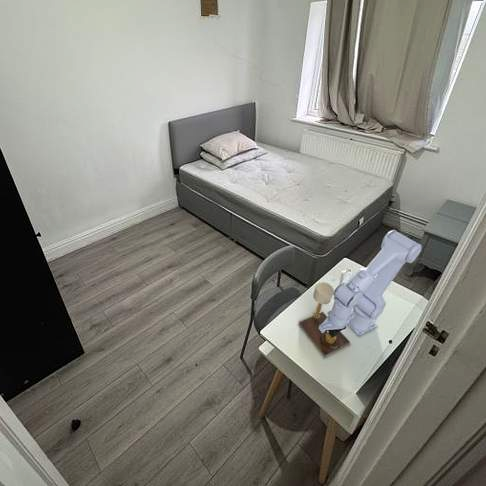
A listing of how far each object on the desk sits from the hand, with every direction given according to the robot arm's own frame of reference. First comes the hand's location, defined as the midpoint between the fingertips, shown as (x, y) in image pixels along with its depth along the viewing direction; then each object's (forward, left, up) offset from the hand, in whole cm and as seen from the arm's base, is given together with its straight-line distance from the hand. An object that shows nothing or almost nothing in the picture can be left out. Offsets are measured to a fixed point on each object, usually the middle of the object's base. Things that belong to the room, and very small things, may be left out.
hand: (331, 334), depth 107 cm
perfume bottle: (-22, -17, -6) cm, 28 cm away
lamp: (-2, -10, -3) cm, 11 cm away
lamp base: (-1, -4, -6) cm, 7 cm away
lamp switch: (0, 0, -3) cm, 3 cm away
